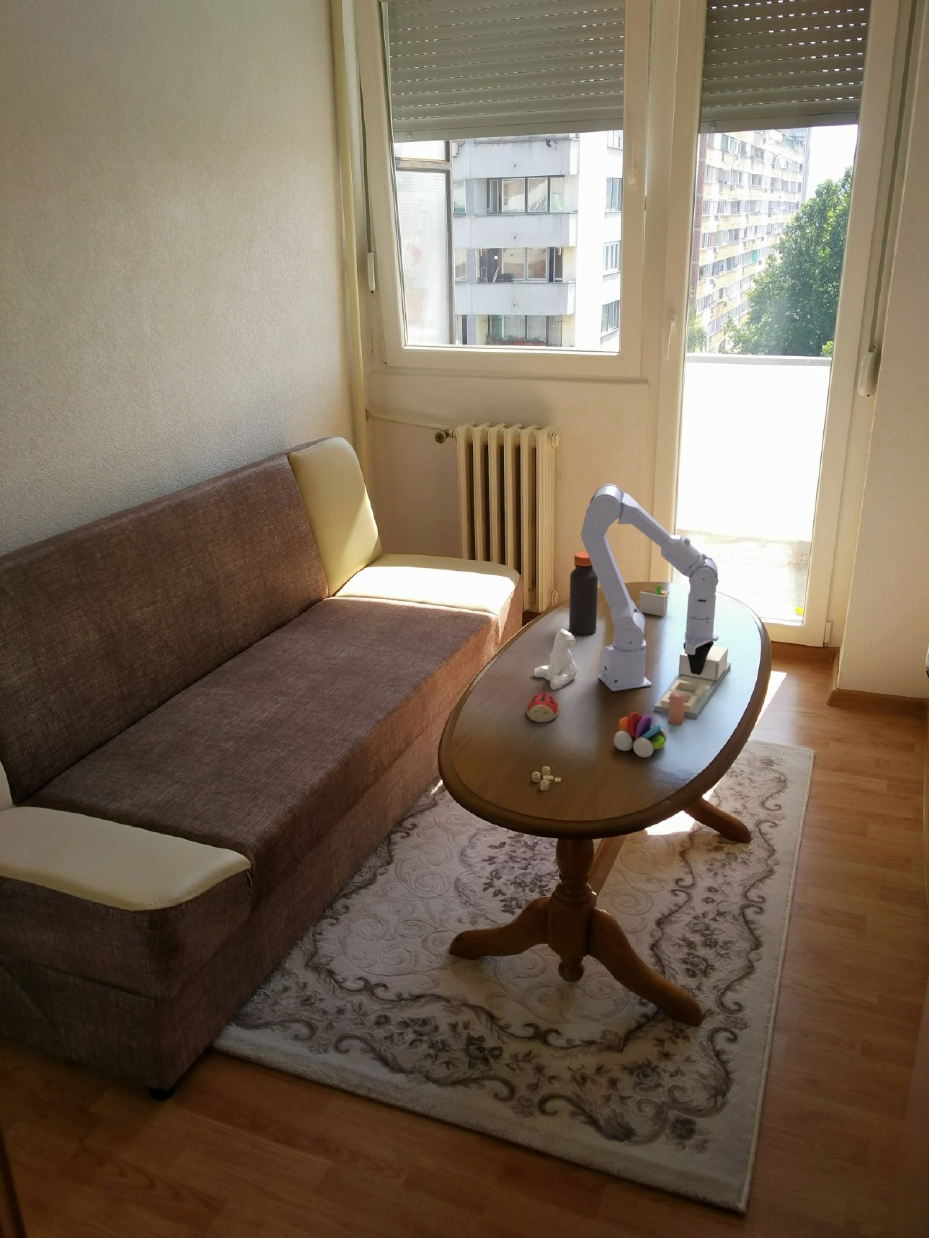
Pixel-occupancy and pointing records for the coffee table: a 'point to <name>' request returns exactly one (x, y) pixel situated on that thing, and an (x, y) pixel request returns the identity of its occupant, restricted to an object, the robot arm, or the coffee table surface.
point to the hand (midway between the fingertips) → (696, 673)
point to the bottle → (583, 596)
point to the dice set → (544, 778)
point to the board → (691, 693)
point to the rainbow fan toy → (639, 735)
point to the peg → (676, 708)
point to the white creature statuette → (559, 662)
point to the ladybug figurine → (542, 708)
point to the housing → (707, 664)
